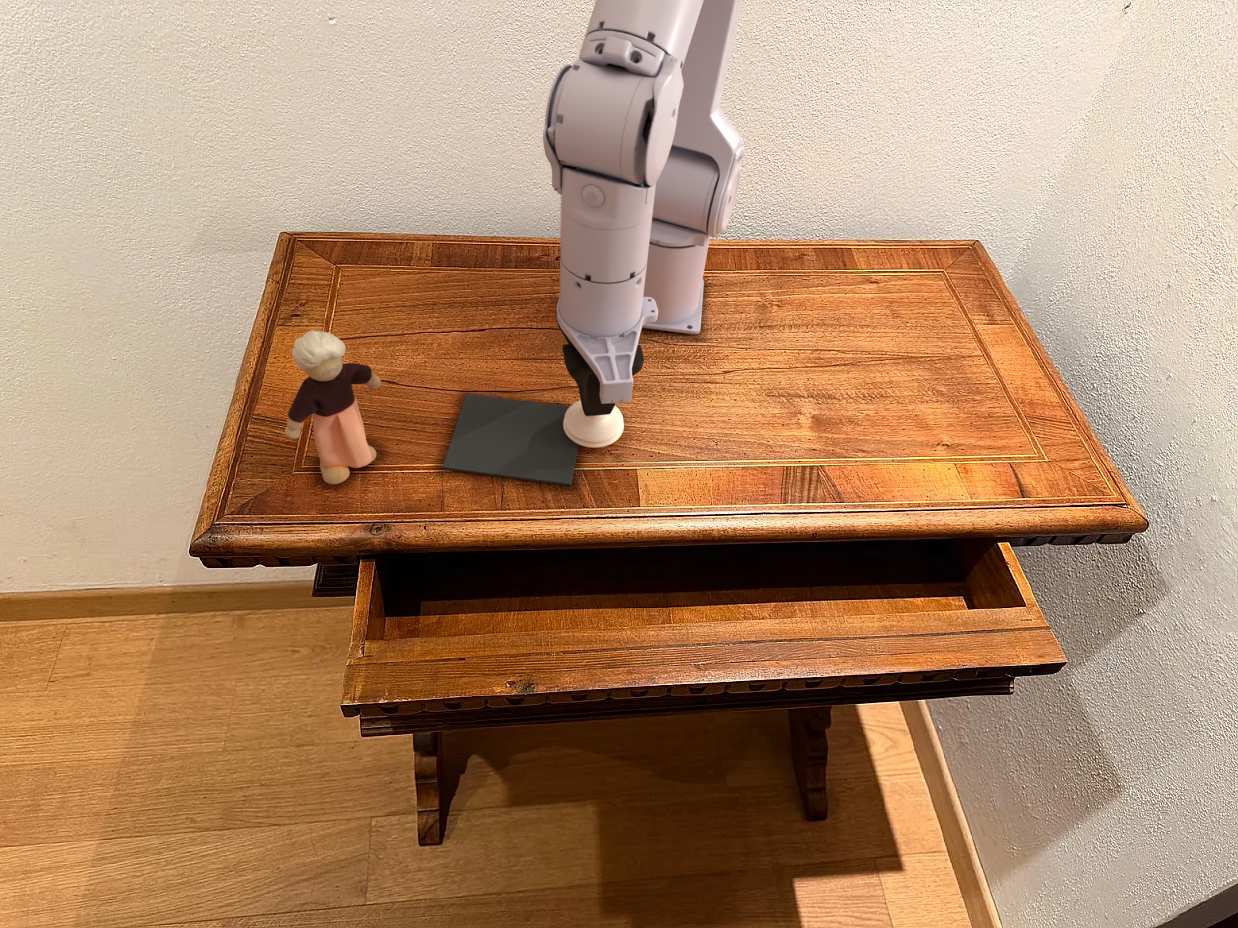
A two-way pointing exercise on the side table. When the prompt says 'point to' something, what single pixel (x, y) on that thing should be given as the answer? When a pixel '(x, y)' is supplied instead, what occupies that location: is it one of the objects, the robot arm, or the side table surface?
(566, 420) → the chess piece
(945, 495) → the side table surface
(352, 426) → the grandmother figurine
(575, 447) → the felt mat
